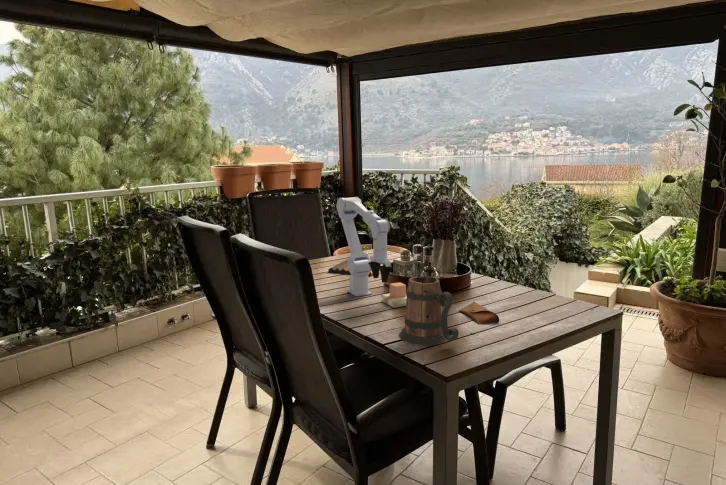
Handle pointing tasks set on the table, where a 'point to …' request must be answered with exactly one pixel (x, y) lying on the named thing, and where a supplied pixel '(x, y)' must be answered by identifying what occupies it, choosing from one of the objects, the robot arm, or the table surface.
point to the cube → (397, 290)
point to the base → (394, 300)
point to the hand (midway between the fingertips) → (380, 280)
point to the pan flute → (342, 268)
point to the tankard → (427, 313)
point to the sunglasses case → (479, 314)
